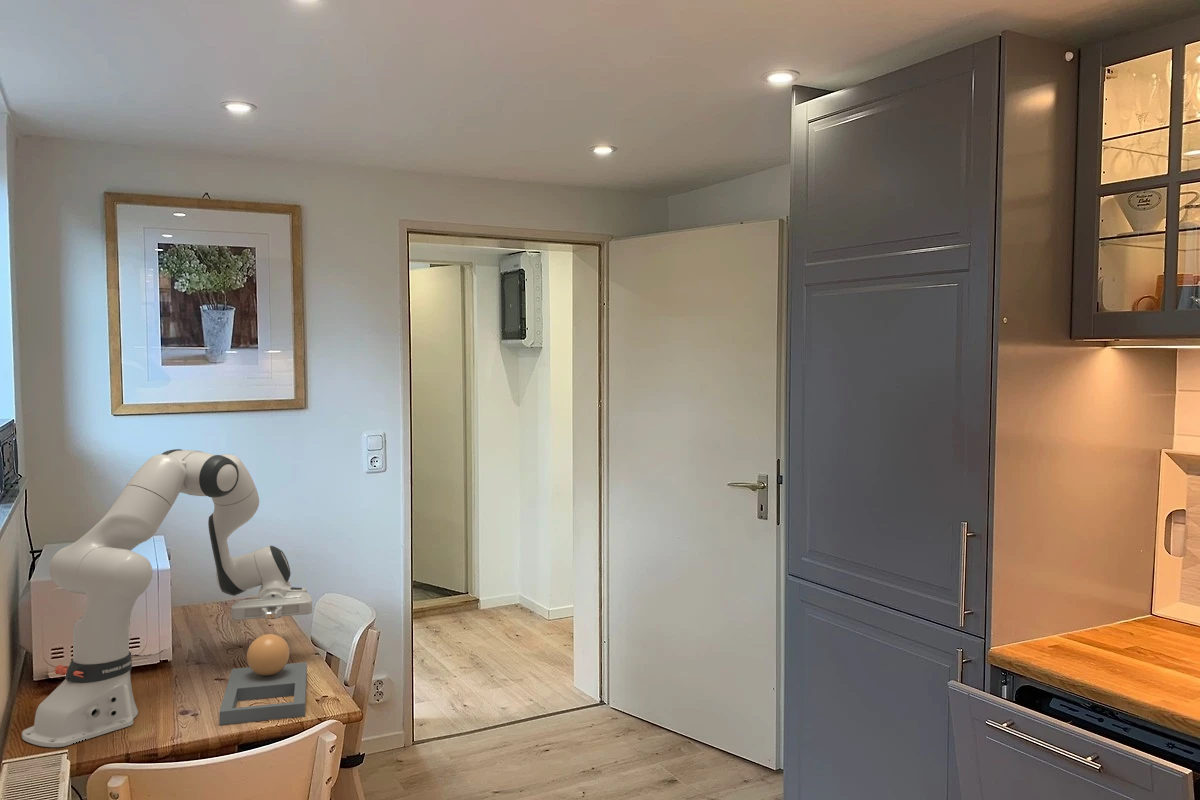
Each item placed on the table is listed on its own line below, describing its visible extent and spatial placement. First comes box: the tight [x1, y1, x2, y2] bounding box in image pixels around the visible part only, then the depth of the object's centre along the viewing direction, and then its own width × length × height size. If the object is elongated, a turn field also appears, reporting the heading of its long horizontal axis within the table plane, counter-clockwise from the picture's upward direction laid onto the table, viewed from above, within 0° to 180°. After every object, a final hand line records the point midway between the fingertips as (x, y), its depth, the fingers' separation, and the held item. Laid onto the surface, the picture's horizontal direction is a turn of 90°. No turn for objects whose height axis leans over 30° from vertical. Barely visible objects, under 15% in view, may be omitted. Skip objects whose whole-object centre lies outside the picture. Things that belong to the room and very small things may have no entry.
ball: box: [246, 633, 291, 676], centre depth 218 cm, size 10×10×10 cm
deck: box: [218, 661, 308, 726], centre depth 211 cm, size 29×18×3 cm, turn 18°
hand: (271, 616), depth 226 cm, fingers closed
